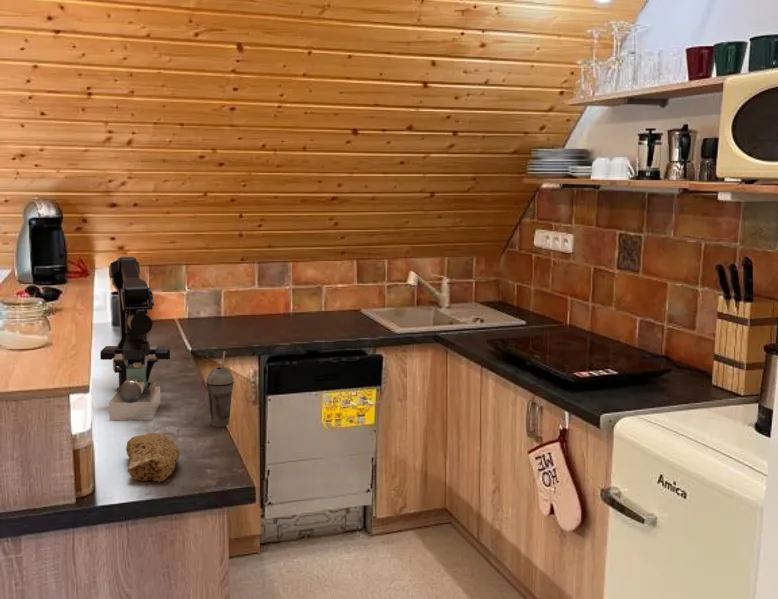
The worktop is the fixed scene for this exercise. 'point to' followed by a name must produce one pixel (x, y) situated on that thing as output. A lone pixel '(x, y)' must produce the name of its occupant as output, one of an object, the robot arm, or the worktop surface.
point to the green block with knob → (137, 371)
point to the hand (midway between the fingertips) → (137, 382)
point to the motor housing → (135, 401)
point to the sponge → (151, 456)
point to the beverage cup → (220, 394)
